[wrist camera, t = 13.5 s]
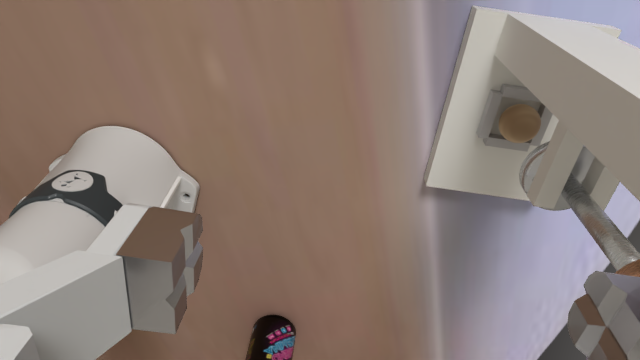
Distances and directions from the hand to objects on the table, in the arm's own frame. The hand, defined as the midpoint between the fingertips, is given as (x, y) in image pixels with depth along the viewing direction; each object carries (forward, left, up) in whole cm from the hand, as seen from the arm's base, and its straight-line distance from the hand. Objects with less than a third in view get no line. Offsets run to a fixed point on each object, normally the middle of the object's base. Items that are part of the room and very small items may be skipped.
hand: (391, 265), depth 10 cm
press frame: (-10, -18, -41) cm, 46 cm away
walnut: (-10, -18, -37) cm, 42 cm away
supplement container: (-50, +5, -41) cm, 65 cm away
